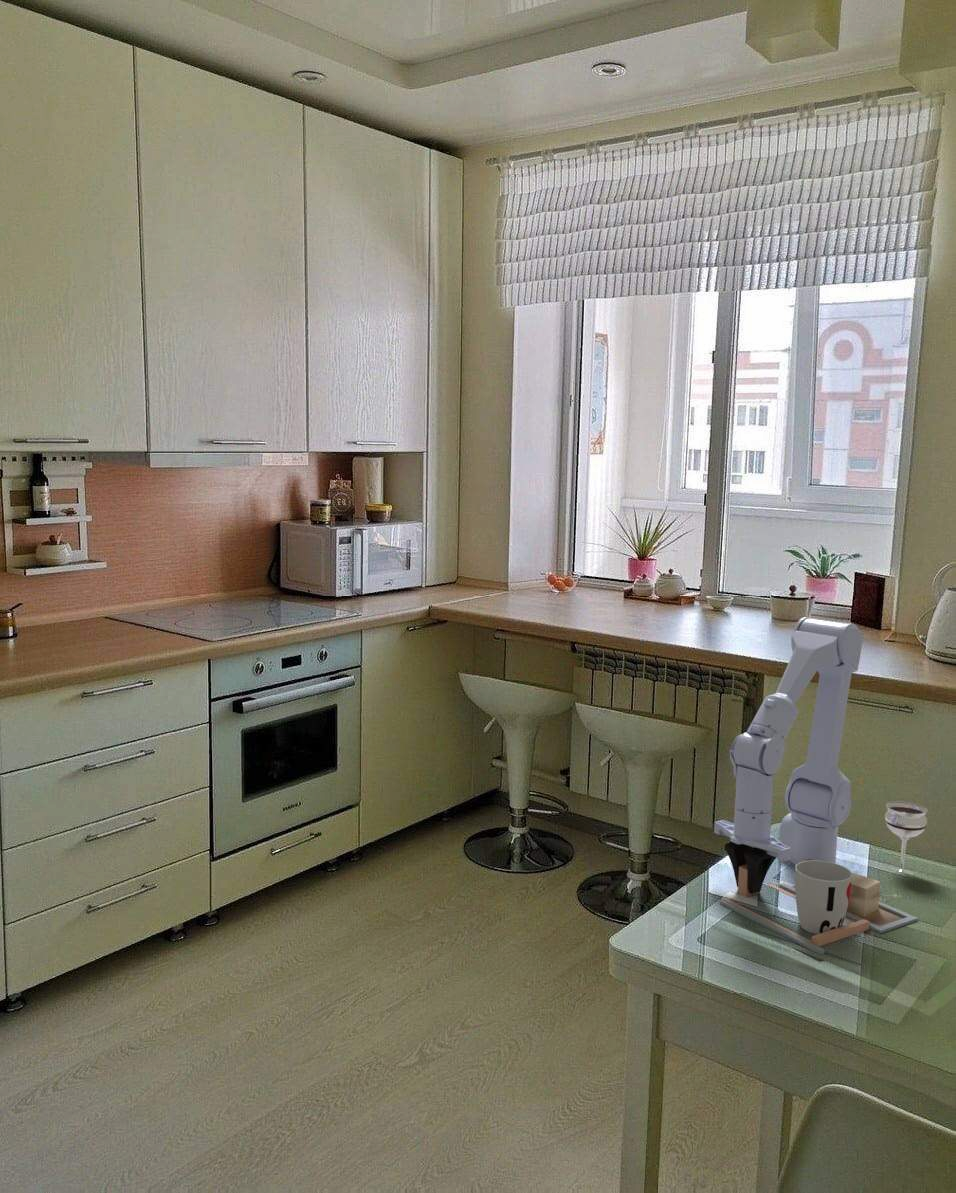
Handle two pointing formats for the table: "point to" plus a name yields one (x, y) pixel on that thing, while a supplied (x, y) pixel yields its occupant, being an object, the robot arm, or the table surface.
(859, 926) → the cup sled
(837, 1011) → the table surface
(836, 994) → the table surface
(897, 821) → the wineglass
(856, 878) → the beech cube
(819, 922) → the cup
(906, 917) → the lane frame
